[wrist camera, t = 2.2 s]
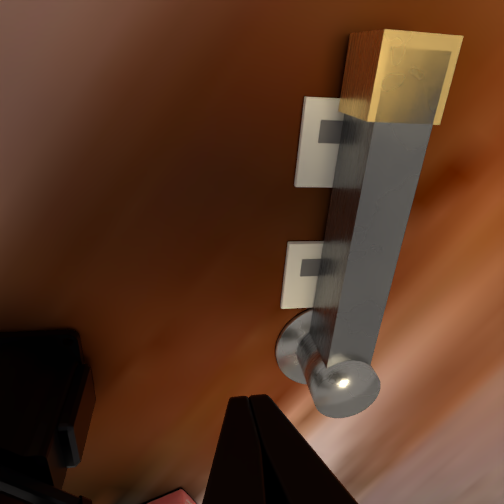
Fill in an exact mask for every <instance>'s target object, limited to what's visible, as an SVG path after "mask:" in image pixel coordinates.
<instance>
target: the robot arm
mask: <svg viewBox="0 0 504 504" xmlns="http://www.w3.org/2000/svg"><path fill="white" fill-rule="evenodd" d="M65 338H70V339H71V340H72V341H67V340H66V339H65ZM95 401H96V397H95V391H94V385H93V379H92V372H91V367H90V366H89V365H88V364H84V359H83V353H82V347H81V341H80V336H79V334H78V333H77V332H76V331H74V330H69V329H67V330H47V331H27V332H7V333H0V504H92V500H91V499H88V498H86V497H84V496H79V497H77V496H75V495H73V494H70V493H68V492H66V491H63V490H62V486H63V483H64V479H65V475H66V471H67V468H71V467H76V466H77V465H78V464H79V463H80V462H81V459H82V455H83V450H84V446H85V442H86V438H87V434H88V430H89V426H90V421H91V417H92V413H93V409H94V405H95ZM202 504H358V503H357V502H356V500H355V499H354V498H353V497H352V496H351V494H350V493H349V492H348V491H347V489H346V488H345V487H344V486H343V485H342V483H341V482H340V481H339V480H338V479H337V477H336V476H335V475H334V474H333V473H332V471H331V470H330V469H329V468H328V467H327V465H326V464H325V463H324V462H323V461H322V459H321V458H320V457H319V456H318V455H317V453H316V452H315V451H314V450H313V449H312V447H311V446H310V445H309V444H308V443H307V441H306V440H305V439H304V438H303V437H302V435H301V434H300V433H299V432H298V430H297V429H296V428H295V427H294V426H293V424H292V423H291V422H290V421H289V420H288V418H287V417H286V416H285V415H284V414H283V412H282V411H281V410H280V409H279V408H278V406H277V405H276V404H275V403H274V402H273V400H272V399H271V398H270V397H269V396H268V395H266V394H261V395H251V396H250V397H249V398H248V397H247V396H237V397H231V398H230V399H229V402H228V405H227V409H226V413H225V417H224V421H223V425H222V429H221V432H220V436H219V440H218V444H217V448H216V452H215V456H214V460H213V464H212V467H211V471H210V475H209V479H208V483H207V487H206V491H205V495H204V499H203V502H202Z"/></svg>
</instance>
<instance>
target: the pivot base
mask: <svg viewBox="0 0 504 504" xmlns="http://www.w3.org/2000/svg"><path fill="white" fill-rule="evenodd" d="M312 312H313V307H312V308H310V309H307V310H305V311H303V312H302V313H300V314H298V315H297V316H296V317H294V318H293V319H292V320H291V321H290V322H289V323H288V324H287V325H286V326H285V327H284V328H283V330H282V331H281V333H280V335H279V337H278V340H277V343H276V349H275V354H276V359H277V362H278V365H279V367H280V369H281V371H282V372H283V373H284V374H285V375H286V376H287V377H288V378H290V379H291V380H294V381H296V382H299V383H302V384H307V383H306V380H305V377H304V375H303V372H302V370H301V367H300V365H299V362H298V359H297V347H298V345H299V343H300V341H301V340H302V338H303V337H304V336H305V335H306V334H308V333H309V331H310V324H311V318H312Z"/></svg>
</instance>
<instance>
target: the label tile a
mask: <svg viewBox="0 0 504 504" xmlns="http://www.w3.org/2000/svg"><path fill="white" fill-rule="evenodd" d="M323 243H324V241H288V243H287V252H286V261H285V269H284V278H283V287H282V296H281V304H280V306H281V309H290V308H312V307H313V306H314V299H315V293H316V287H317V281H318V275H319V268H320V262H321V256H322V250H323Z"/></svg>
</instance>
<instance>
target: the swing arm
mask: <svg viewBox="0 0 504 504" xmlns="http://www.w3.org/2000/svg"><path fill="white" fill-rule="evenodd" d="M462 40H463V36H457V35H446V34H435V33H424V32H413V31H401V30H390V29H380V30H372V31H364V32H356V33H350V38H349V44H348V51H347V57H346V64H345V70H344V77H343V83H342V90H341V96H340V103H339V109H338V111H339V112H342V113H344V119H343V125H342V131H341V137H340V144H339V150H338V156H337V162H336V168H335V175H334V181H333V187H332V193H331V200H330V206H329V212H328V218H327V225H326V231H325V237H324V243H323V250H322V256H321V262H320V268H319V275H318V281H317V287H316V293H315V299H314V306H313V312H312V318H311V324H310V331H309V333H308V334H306V335H305V336H304V337H303V338H302V340H301V341H300V343H299V345H298V347H297V359H298V362H299V365H300V367H301V370H302V372H303V375H304V377H305V380H306V383H307V385H308V388H309V390H310V393H311V396H312V398H313V401H314V403H315V406H316V408H317V409H318V411H319V412H320V413H322V414H323V415H325V416H328V417H332V418H345V417H349V416H353V415H355V414H358V413H360V412H362V411H363V410H365V409H366V408H367V407H369V406H370V405H371V404H372V403H373V402H374V401H375V399H376V398H377V396H378V394H379V391H380V380H379V378H378V376H377V374H376V373H375V371H374V370H373V368H372V366H371V365H370V364H371V360H372V356H373V352H374V349H375V345H376V341H377V337H378V333H379V329H380V325H381V322H382V318H383V314H384V310H385V306H386V302H387V299H388V295H389V291H390V287H391V283H392V279H393V275H394V272H395V268H396V264H397V260H398V256H399V252H400V249H401V245H402V241H403V237H404V233H405V229H406V225H407V222H408V218H409V214H410V210H411V206H412V202H413V199H414V195H415V191H416V187H417V183H418V179H419V175H420V172H421V168H422V164H423V160H424V156H425V152H426V149H427V145H428V141H429V137H430V133H431V129H432V125H440V122H441V118H442V115H443V111H444V107H445V103H446V100H447V96H448V92H449V88H450V85H451V81H452V77H453V73H454V70H455V66H456V62H457V59H458V55H459V51H460V47H461V44H462Z"/></svg>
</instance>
